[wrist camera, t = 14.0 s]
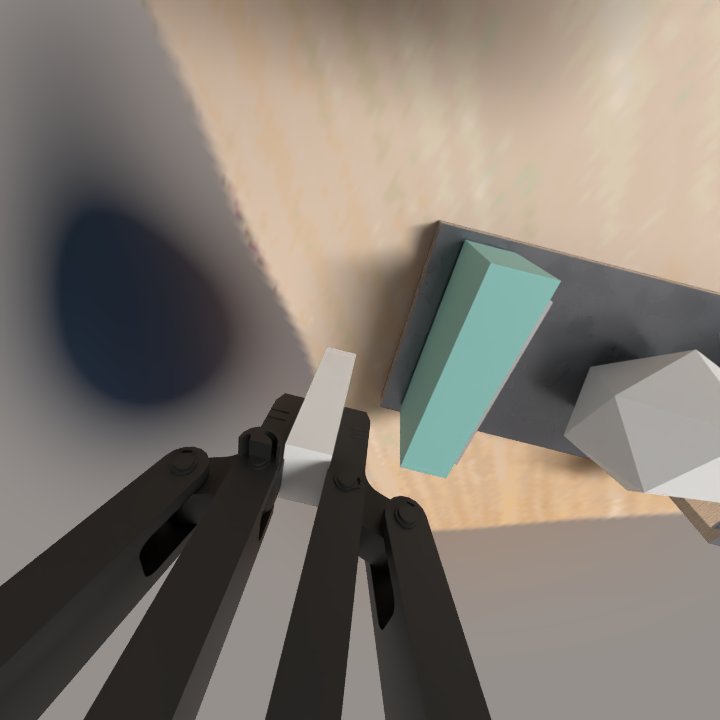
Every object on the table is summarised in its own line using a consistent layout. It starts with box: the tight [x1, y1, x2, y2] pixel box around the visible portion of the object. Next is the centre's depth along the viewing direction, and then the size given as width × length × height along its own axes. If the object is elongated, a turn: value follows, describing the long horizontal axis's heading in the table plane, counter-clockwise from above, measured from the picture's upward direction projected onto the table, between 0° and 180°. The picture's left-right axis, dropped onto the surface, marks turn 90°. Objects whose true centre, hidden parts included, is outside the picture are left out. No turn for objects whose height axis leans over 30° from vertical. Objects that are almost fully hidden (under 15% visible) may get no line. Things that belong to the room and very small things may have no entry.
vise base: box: [381, 220, 720, 546], centre depth 19 cm, size 14×26×8 cm, turn 77°
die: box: [563, 350, 720, 503], centre depth 18 cm, size 8×9×10 cm
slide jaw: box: [400, 240, 561, 478], centre depth 18 cm, size 13×3×6 cm, turn 167°
